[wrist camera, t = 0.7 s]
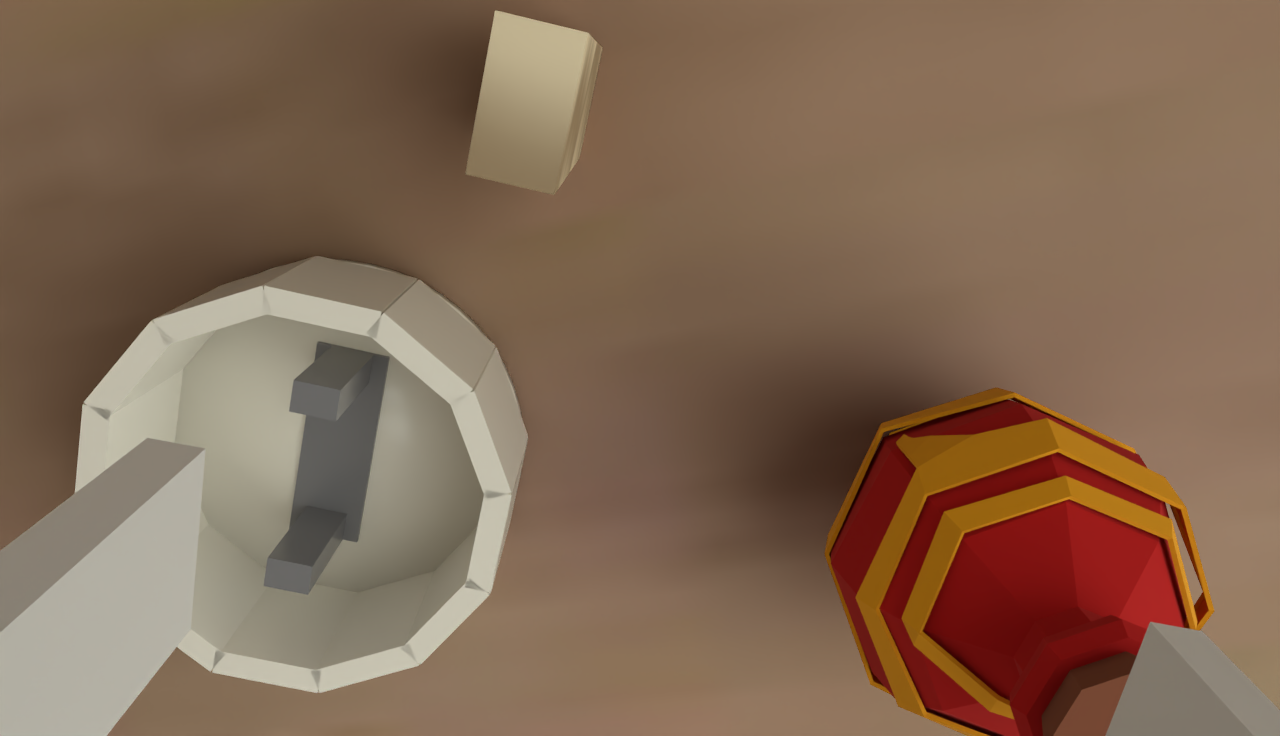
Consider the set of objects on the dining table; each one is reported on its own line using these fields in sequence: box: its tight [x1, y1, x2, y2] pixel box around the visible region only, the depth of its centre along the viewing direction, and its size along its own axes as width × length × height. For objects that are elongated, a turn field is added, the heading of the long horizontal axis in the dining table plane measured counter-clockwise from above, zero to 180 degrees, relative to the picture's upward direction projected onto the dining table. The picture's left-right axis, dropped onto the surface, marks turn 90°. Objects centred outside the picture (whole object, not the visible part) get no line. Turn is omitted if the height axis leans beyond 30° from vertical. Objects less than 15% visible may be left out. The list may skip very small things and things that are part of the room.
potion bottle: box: [825, 388, 1214, 736], centre depth 29 cm, size 10×10×15 cm
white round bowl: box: [75, 256, 528, 693], centre depth 33 cm, size 13×13×6 cm
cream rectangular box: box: [465, 10, 603, 195], centre depth 27 cm, size 4×2×11 cm, turn 167°
